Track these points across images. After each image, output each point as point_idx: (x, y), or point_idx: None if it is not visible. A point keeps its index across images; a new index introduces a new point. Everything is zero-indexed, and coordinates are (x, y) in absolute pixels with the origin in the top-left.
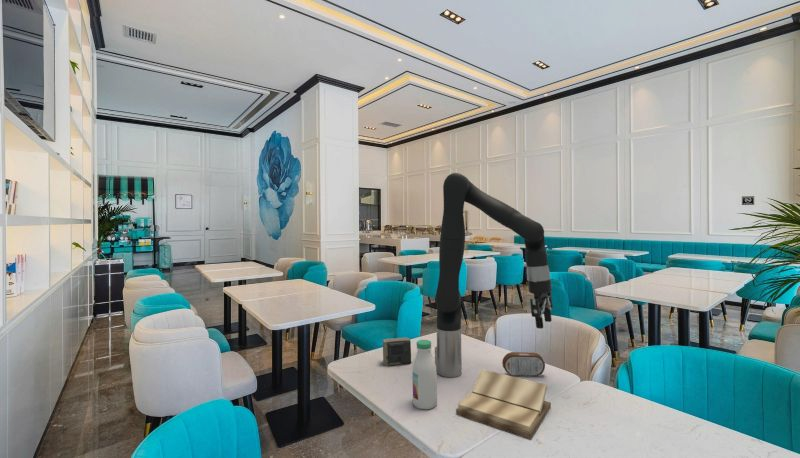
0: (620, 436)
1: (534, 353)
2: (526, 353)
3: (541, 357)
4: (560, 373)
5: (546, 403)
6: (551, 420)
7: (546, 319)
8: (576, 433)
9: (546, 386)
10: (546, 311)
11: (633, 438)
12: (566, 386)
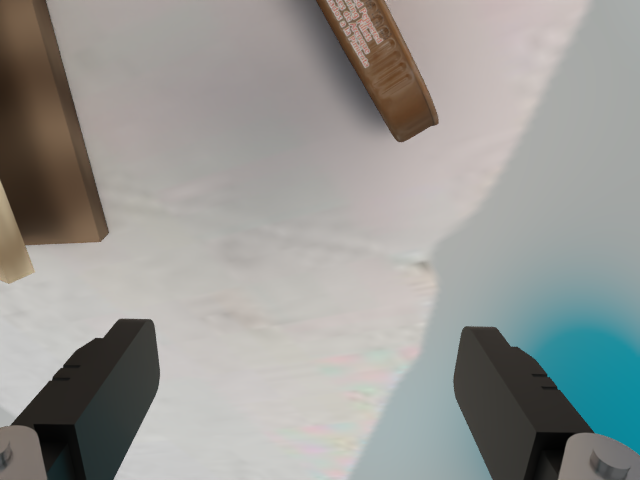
0: None
1: (413, 84)
2: (381, 30)
3: (432, 120)
4: (468, 176)
5: (78, 231)
6: None
7: (471, 358)
8: (13, 336)
9: (14, 279)
10: (524, 472)
11: None
12: (336, 232)
